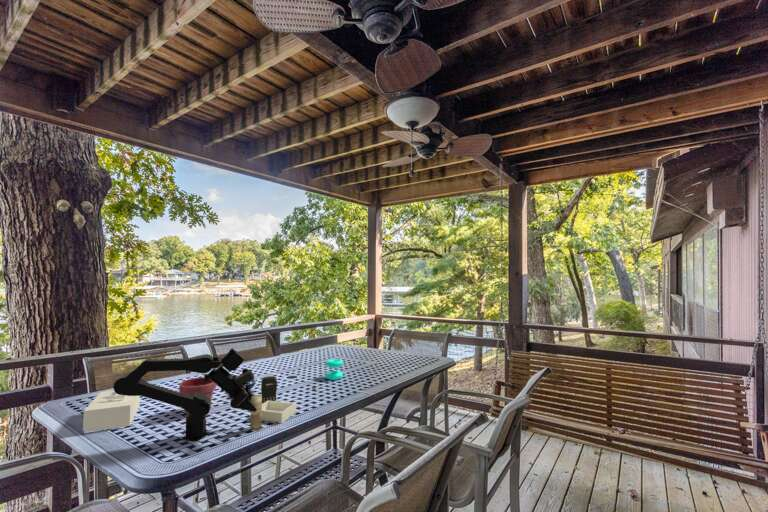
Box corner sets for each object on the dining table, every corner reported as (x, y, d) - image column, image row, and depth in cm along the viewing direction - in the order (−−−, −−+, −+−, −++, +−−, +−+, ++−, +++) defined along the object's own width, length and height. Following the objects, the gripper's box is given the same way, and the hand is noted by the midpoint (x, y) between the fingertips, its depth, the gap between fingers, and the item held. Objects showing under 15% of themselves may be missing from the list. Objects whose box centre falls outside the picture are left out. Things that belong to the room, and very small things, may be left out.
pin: (257, 431, 139) (258, 398, 140) (248, 430, 140) (248, 398, 141) (263, 427, 143) (264, 395, 144) (254, 426, 144) (255, 394, 145)
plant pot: (200, 419, 151) (201, 387, 152) (170, 416, 154) (171, 385, 155) (222, 406, 165) (222, 377, 166) (194, 404, 168) (194, 376, 169)
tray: (281, 423, 147) (281, 412, 147) (251, 419, 151) (251, 409, 151) (295, 412, 158) (296, 403, 158) (267, 409, 162) (267, 400, 162)
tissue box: (82, 434, 137) (84, 404, 138) (99, 412, 159) (100, 386, 160) (129, 427, 143) (130, 399, 144) (139, 407, 166) (140, 382, 166)
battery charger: (261, 404, 169) (261, 378, 169) (260, 401, 172) (261, 376, 173) (277, 402, 172) (277, 377, 172) (276, 399, 175) (276, 375, 176)
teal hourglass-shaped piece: (343, 362, 208) (325, 362, 207) (343, 380, 207) (325, 380, 206) (343, 358, 218) (326, 358, 217) (343, 375, 217) (326, 376, 216)
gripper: (241, 369, 133) (272, 397, 136) (242, 358, 150) (270, 383, 153) (216, 394, 129) (249, 422, 133) (220, 380, 147) (249, 405, 150)
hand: (255, 406), depth 142 cm, fingers open, 9 cm apart
